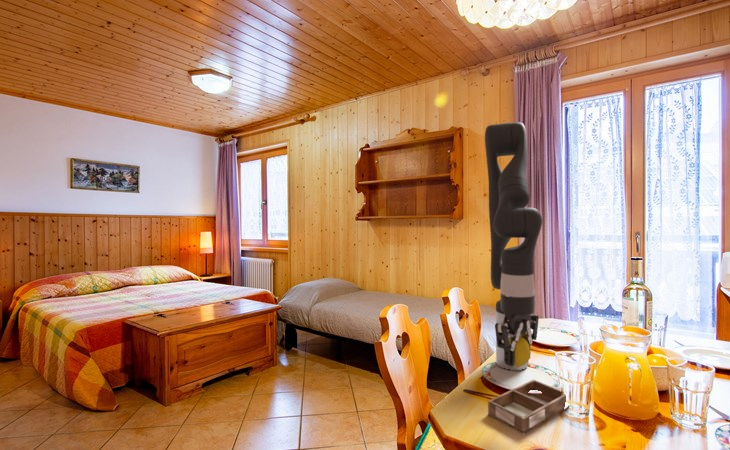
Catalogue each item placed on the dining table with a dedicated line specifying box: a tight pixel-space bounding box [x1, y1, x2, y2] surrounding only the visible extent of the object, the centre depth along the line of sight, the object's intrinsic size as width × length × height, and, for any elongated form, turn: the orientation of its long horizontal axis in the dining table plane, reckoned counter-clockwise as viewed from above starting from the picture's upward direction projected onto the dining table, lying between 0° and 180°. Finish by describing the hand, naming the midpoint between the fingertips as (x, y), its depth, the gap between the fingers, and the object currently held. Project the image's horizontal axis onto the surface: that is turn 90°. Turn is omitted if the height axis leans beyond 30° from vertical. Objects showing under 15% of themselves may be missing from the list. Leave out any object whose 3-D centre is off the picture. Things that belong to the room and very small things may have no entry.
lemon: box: [509, 336, 531, 368], centre depth 91 cm, size 6×6×8 cm
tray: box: [487, 379, 566, 435], centre depth 94 cm, size 19×10×4 cm, turn 124°
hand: (517, 361), depth 91 cm, fingers closed on lemon, 5 cm apart
